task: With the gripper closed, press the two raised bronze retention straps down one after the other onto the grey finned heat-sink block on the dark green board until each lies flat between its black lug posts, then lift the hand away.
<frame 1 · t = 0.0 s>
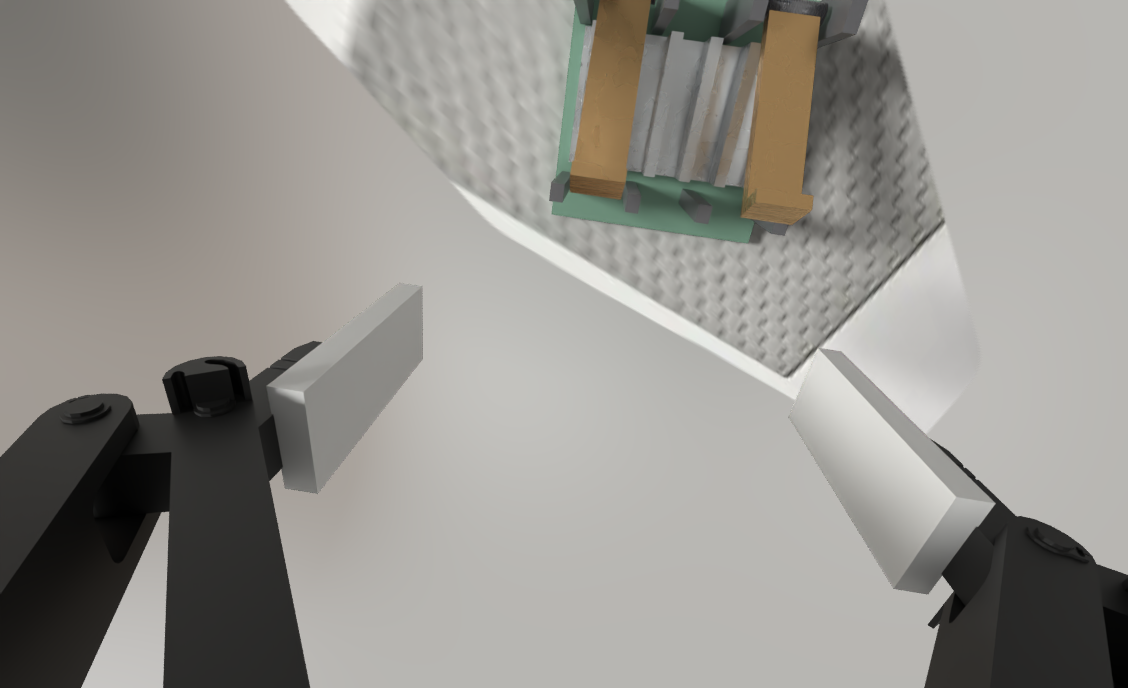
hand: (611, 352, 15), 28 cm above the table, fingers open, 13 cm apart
strap 2: (786, 101, 26), point 11 cm above the table, hinge at 32.0°
strap 1: (613, 76, 27), point 11 cm above the table, hinge at 32.0°
socket board: (669, 119, 37), on the table
brackets: (690, 23, 34), resting on socket board
heatsink: (671, 112, 37), resting on socket board
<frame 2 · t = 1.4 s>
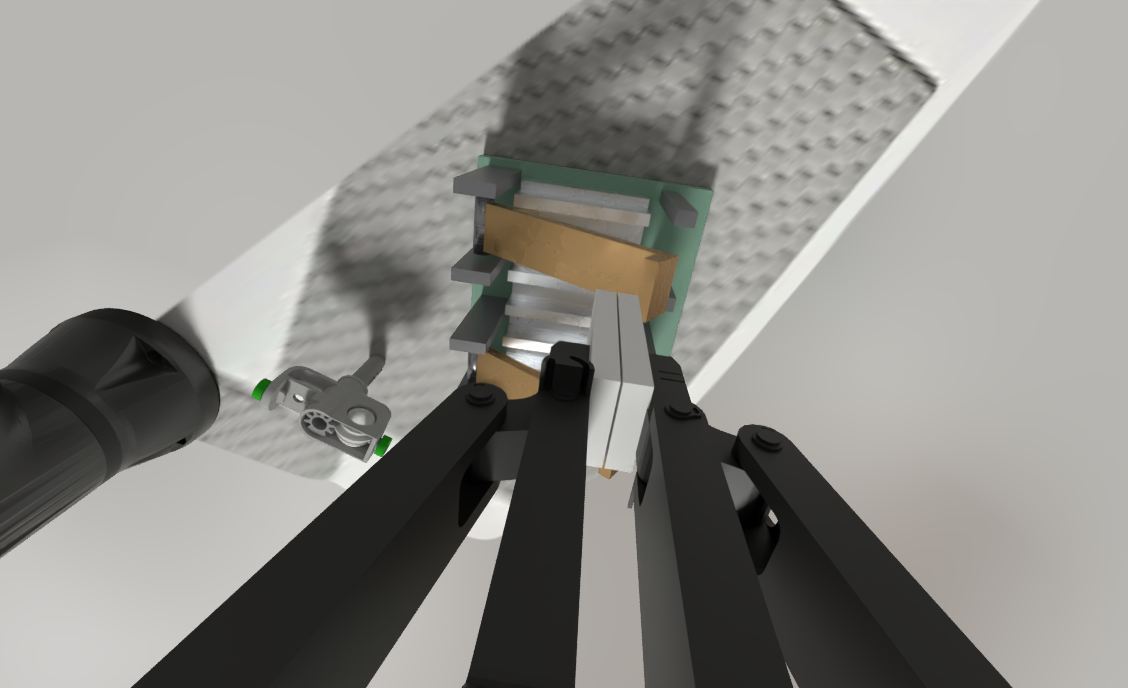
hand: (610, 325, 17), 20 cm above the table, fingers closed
strap 2: (554, 252, 26), point 11 cm above the table, hinge at 32.0°
strap 1: (535, 400, 30), point 11 cm above the table, hinge at 32.0°
mechanical component: (378, 361, 43), on the table
socket board: (579, 279, 38), on the table
brackets: (501, 267, 38), resting on socket board
heatsink: (573, 278, 38), resting on socket board
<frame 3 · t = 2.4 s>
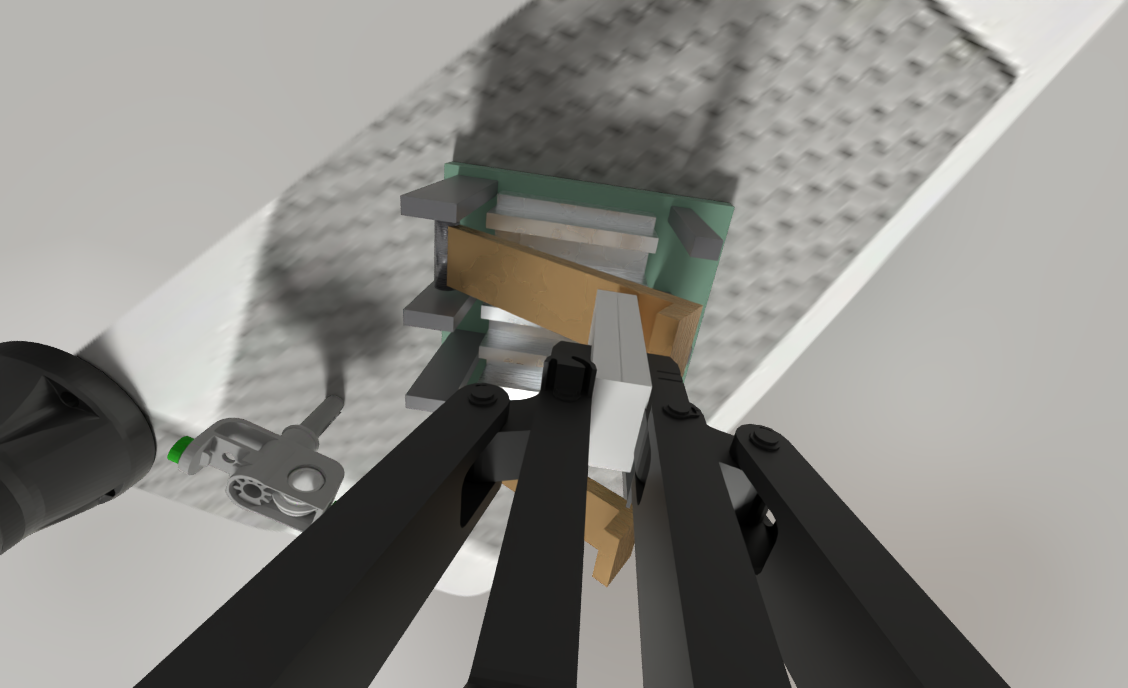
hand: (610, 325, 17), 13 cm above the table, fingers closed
strap 2: (534, 292, 20), point 11 cm above the table, hinge at 31.3°, touching gripper
strap 1: (514, 472, 24), point 11 cm above the table, hinge at 32.0°
mechanical component: (336, 402, 37), on the table
socket board: (570, 310, 32), on the table
brackets: (477, 296, 32), resting on socket board
heatsink: (563, 309, 32), resting on socket board
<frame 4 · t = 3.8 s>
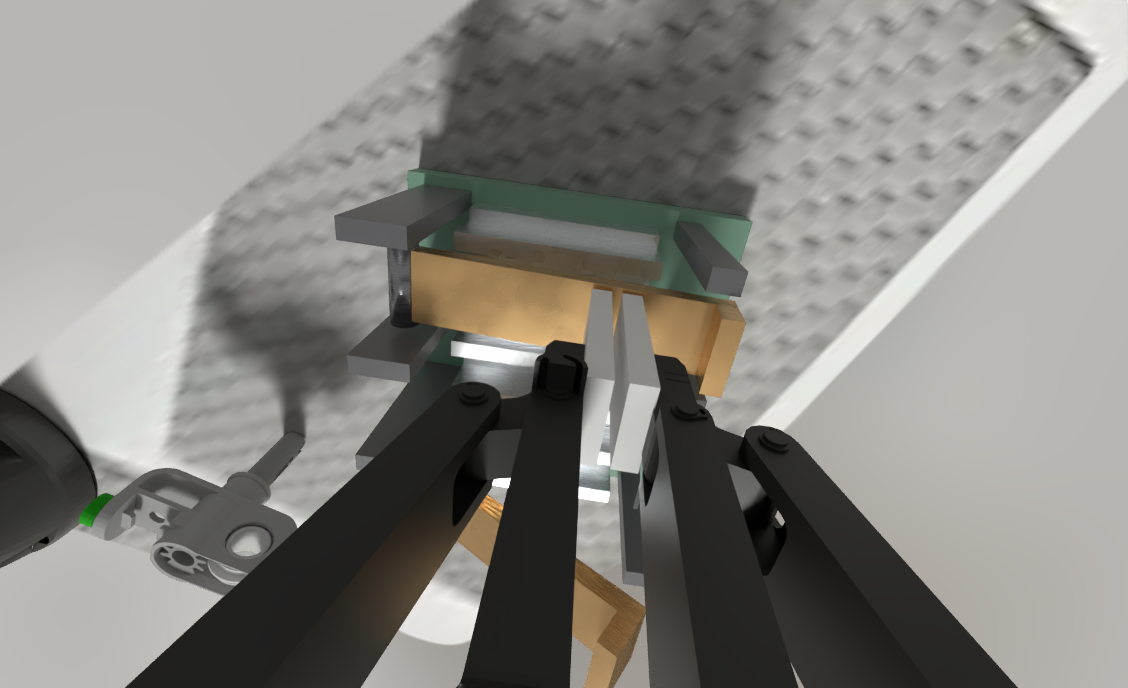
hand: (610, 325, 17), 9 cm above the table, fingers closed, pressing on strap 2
strap 2: (549, 314, 18), point 8 cm above the table, hinge at 4.8°, touching gripper
strap 1: (488, 547, 20), point 11 cm above the table, hinge at 32.0°
mechanical component: (296, 439, 33), on the table
socket board: (559, 339, 27), on the table
brackets: (452, 323, 28), resting on socket board
heatsink: (551, 337, 28), resting on socket board
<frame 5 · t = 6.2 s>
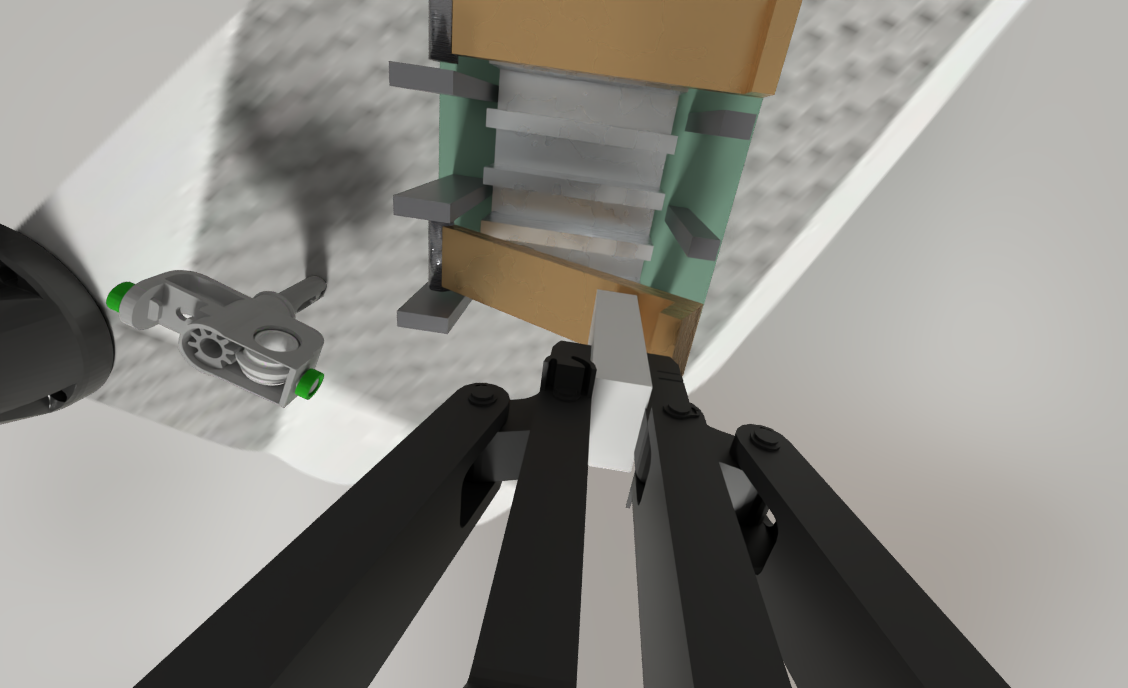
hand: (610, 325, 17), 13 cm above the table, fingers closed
strap 2: (595, 26, 17), point 8 cm above the table, hinge at 4.8°
strap 1: (533, 293, 20), point 11 cm above the table, hinge at 29.7°, touching gripper
mechanical component: (318, 285, 32), on the table
socket board: (589, 154, 27), on the table
brackets: (480, 138, 27), resting on socket board
heatsink: (581, 153, 27), resting on socket board
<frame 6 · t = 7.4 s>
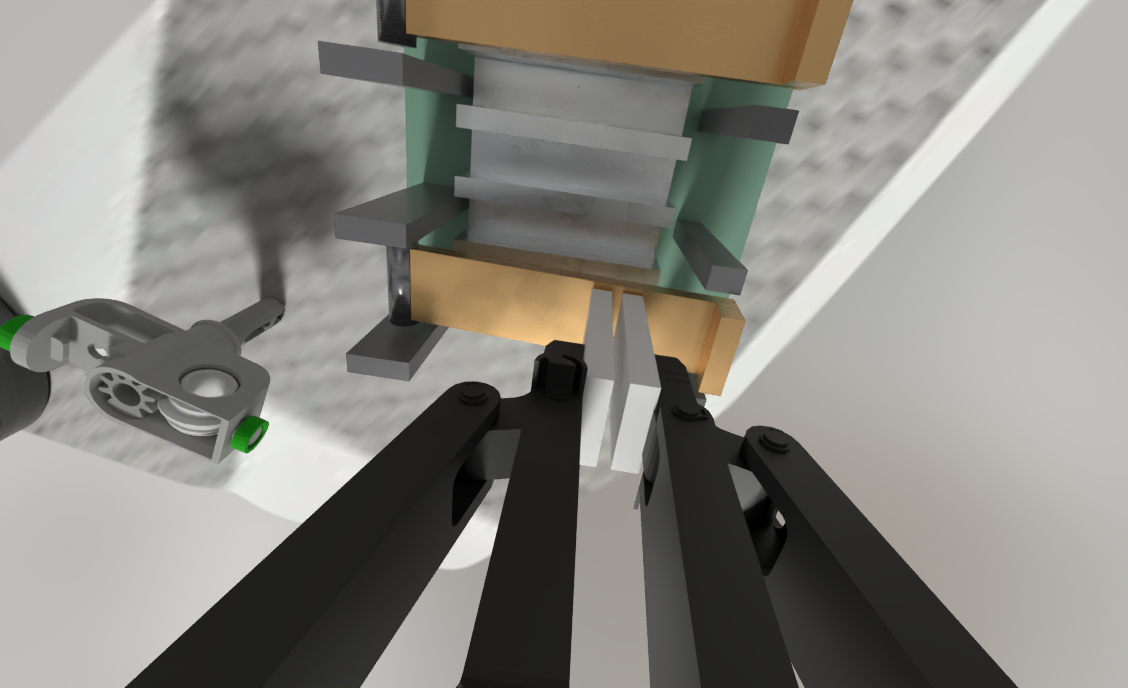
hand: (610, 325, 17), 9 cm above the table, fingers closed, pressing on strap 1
strap 1: (549, 313, 18), point 8 cm above the table, hinge at 4.9°, touching gripper
mechanical component: (275, 308, 28), on the table
socket board: (584, 159, 23), on the table
brackets: (456, 140, 23), resting on socket board
heatsink: (574, 158, 23), resting on socket board
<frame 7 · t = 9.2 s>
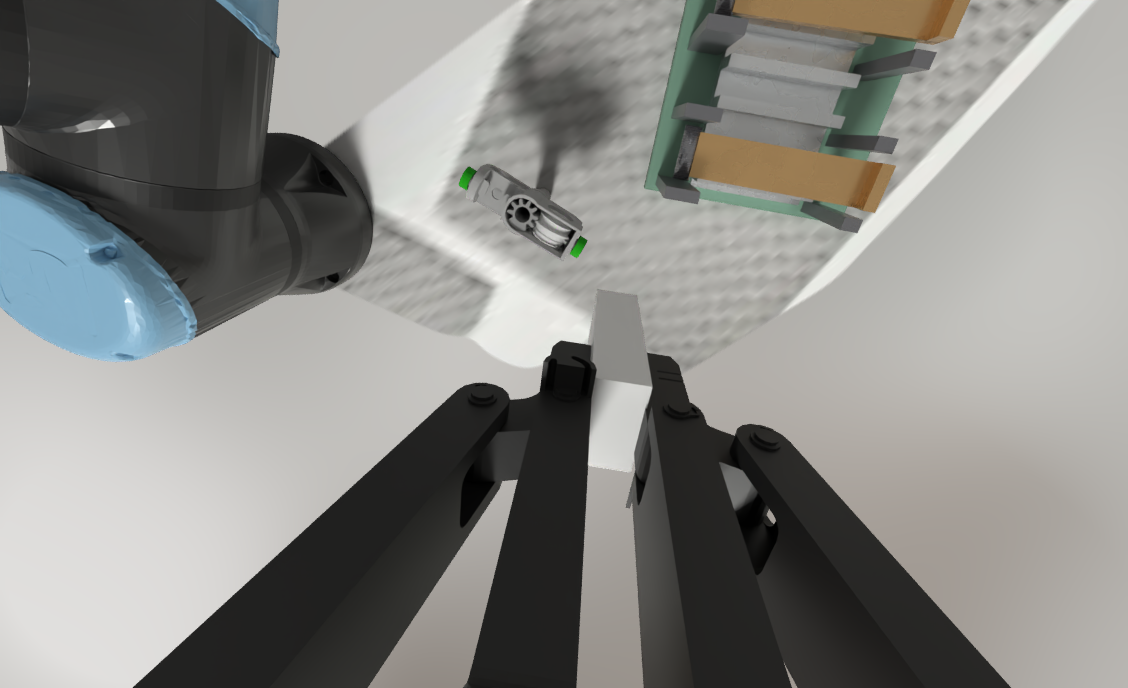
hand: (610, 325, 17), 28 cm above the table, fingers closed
strap 1: (776, 169, 32), point 8 cm above the table, hinge at 4.7°
mechanical component: (542, 196, 43), on the table
socket board: (771, 97, 37), on the table
brackets: (692, 83, 38), resting on socket board
heatsink: (765, 96, 37), resting on socket board
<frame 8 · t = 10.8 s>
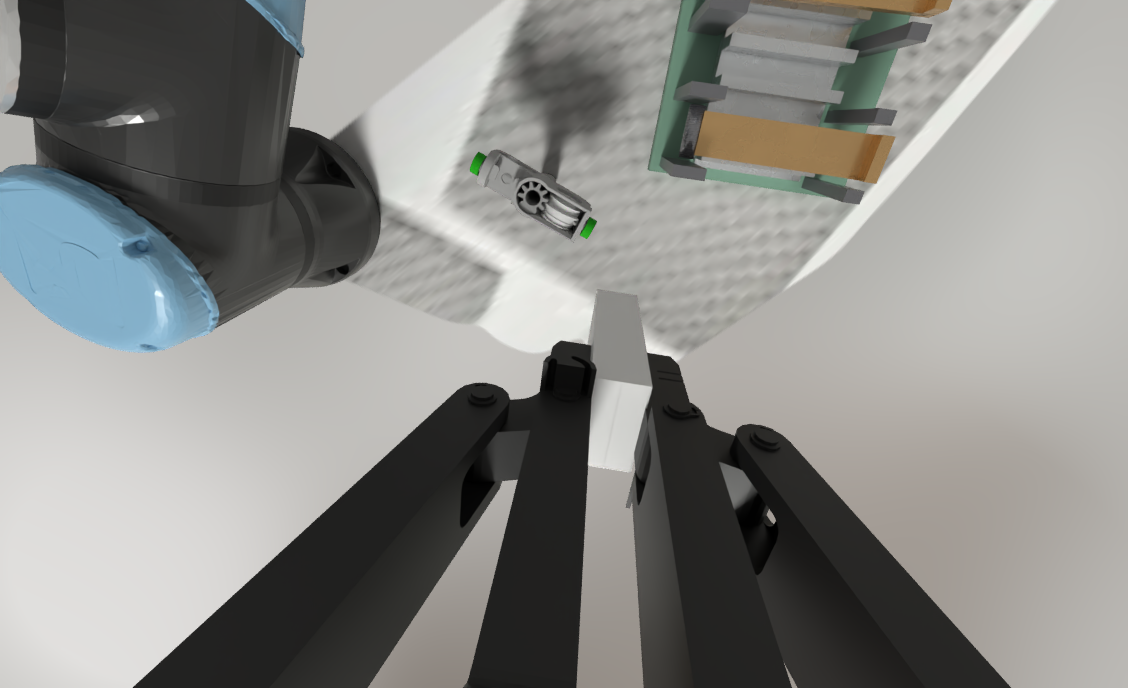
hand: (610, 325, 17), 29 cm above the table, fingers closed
strap 1: (779, 145, 33), point 8 cm above the table, hinge at 4.7°
mechanical component: (548, 182, 44), on the table
socket board: (770, 76, 38), on the table
brackets: (692, 65, 38), resting on socket board
heatsink: (764, 75, 38), resting on socket board
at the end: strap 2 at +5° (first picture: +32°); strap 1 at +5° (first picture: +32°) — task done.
